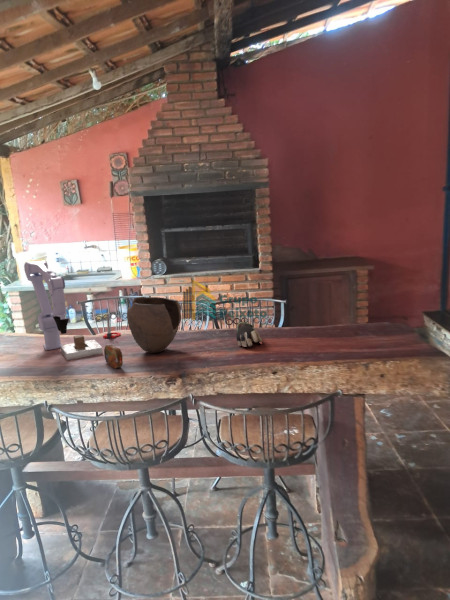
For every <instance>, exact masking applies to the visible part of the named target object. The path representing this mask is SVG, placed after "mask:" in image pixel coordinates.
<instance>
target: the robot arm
mask: <svg viewBox="0 0 450 600" xmlns="http://www.w3.org/2000/svg"><path fill="white" fill-rule="evenodd" d="M23 264H24V265H23V268H24V269H23V270H24V273H25V276H26V278H27V281H30V282H31V284H32V286H33V289H34V292H35V296H36V298H37V301H38V305H39V308H40V310H41V312H40V313H39V314H38V316H37V321H38V328H39V329H40V330H41V332H42V333H43V339H44V344H43V347H44V349H45V351H49V350H55V349H61V347H60V345H63V344H62V343H61V335H64V334H67V333H68V332H67V329H68V323H69V320H70V318H68V317H66V316H67V314H68V312H67V306H66V299H65V290H64V289H65V288H66V282H65V279H64V277H63V276H58V275H57V273H55V272H54V271H52V270H51V269H49V265H48V262H47V261H46V260H45V259H43V260H35V261H25V262H24V263H23ZM44 282H45V283H46V284H47V288H48V291H49V295H50V297H51V302H50V299H49V297H48V293H47V290H46V287H45V284H44ZM60 334H61V335H60Z"/></svg>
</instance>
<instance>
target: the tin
mask: <svg viewBox="0 0 450 600" xmlns="http://www.w3.org/2000/svg"><path fill="white" fill-rule="evenodd" d="M103 354H104V360H105V362H106V364H107V365H108V366H110V367H112V368H113V369H119V368H122V366H123V364H124V363H123V362H124V361H123V352H122V350H121V348H119V347H117V346H116V345H113V344H107V345H106V344H105V346H104V349H103Z"/></svg>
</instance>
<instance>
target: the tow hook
mask: <svg viewBox="0 0 450 600" xmlns="http://www.w3.org/2000/svg"><path fill="white" fill-rule="evenodd" d="M109 314H110V313H106V316H107V317H106V325H107V329H106V330H107V332H106V333H105V334H104V335H102V338H103V339H116V338H118V337H120V336H121V335H122V333H121V332H118V331H117V332H116V331H115V332H113V331H112V330H111V325H110V324H111V323H110V317H109V316H110V315H109ZM111 331H112V332H111Z"/></svg>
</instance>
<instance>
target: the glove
mask: <svg viewBox="0 0 450 600" xmlns="http://www.w3.org/2000/svg"><path fill="white" fill-rule="evenodd" d="M236 327H237V332H236V336H235V337H236V344H237V346H238V345H242V346H244V347H247V348H248V347H252V346H253V342H254V343H258V342H263V338H262V337H261V336H260V333H259V331H258V330H257V328H254V325H253V324H252V323H247V322H242V321H241V322H238V324H237V326H236Z"/></svg>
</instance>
